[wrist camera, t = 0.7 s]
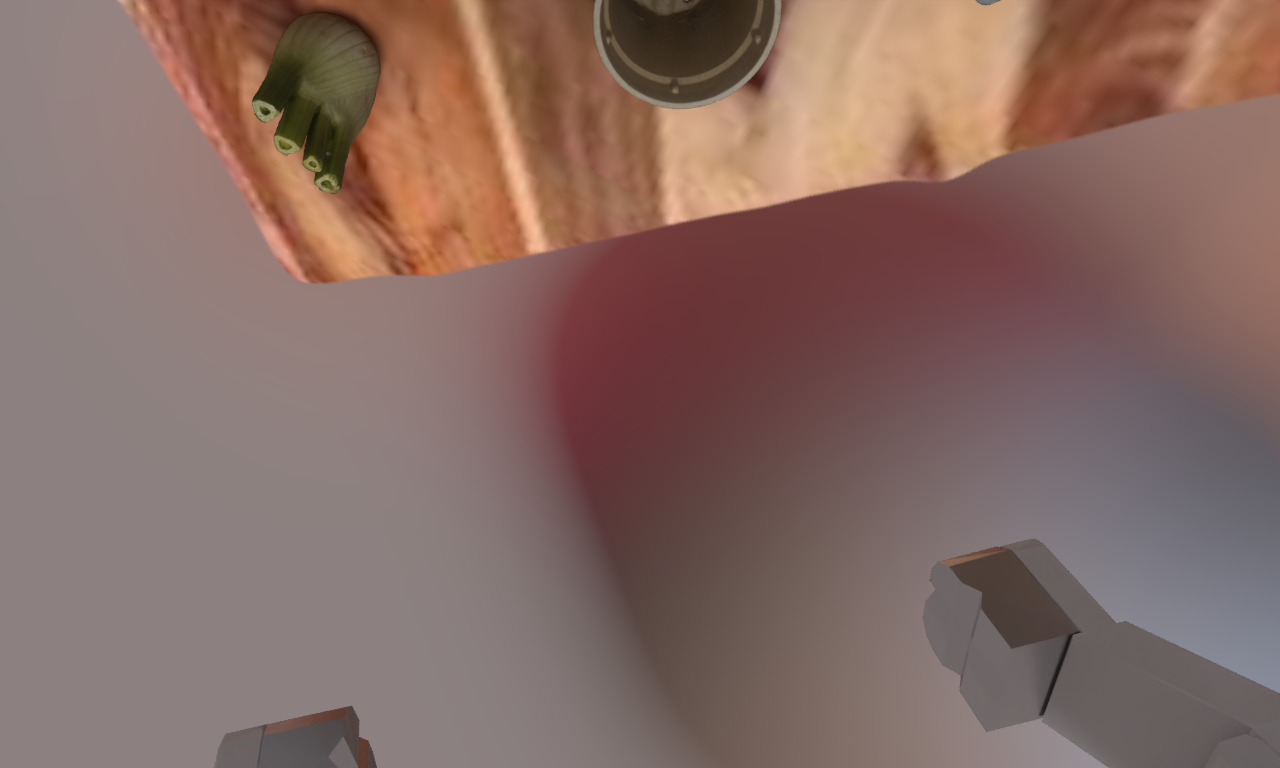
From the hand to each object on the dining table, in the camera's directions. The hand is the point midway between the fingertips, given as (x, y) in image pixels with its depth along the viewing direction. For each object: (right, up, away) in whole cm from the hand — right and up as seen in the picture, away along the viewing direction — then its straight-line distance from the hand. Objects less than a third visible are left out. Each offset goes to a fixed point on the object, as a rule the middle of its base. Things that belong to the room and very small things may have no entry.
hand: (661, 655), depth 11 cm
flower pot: (+1, +28, +36) cm, 46 cm away
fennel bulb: (-18, +24, +38) cm, 49 cm away
